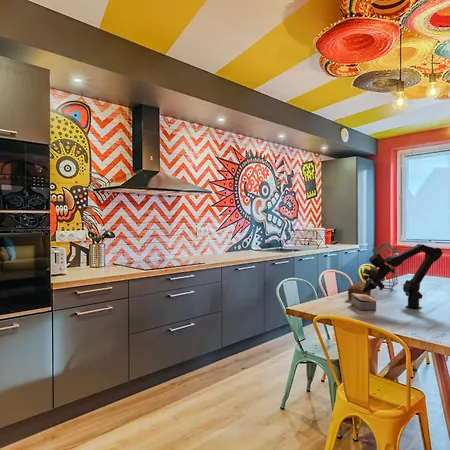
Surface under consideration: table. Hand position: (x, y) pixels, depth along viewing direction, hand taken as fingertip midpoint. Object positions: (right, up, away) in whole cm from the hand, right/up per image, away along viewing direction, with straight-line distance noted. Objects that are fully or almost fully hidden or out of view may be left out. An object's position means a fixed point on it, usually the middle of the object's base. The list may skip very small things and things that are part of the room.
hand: (362, 292), depth 205 cm
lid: (0, -4, 0) cm, 4 cm away
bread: (+8, -9, +24) cm, 27 cm away
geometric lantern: (+37, -8, +51) cm, 63 cm away
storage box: (0, -9, 0) cm, 9 cm away
